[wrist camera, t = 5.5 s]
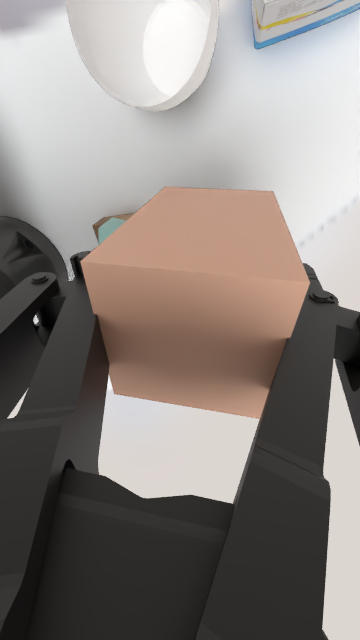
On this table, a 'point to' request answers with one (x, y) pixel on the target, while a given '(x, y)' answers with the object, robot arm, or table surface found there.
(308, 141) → the table surface
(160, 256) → the tall block
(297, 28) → the ink box
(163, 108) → the cup
